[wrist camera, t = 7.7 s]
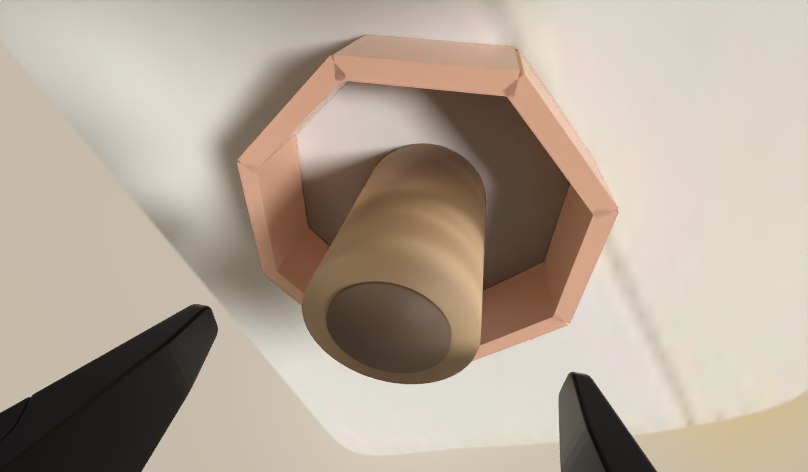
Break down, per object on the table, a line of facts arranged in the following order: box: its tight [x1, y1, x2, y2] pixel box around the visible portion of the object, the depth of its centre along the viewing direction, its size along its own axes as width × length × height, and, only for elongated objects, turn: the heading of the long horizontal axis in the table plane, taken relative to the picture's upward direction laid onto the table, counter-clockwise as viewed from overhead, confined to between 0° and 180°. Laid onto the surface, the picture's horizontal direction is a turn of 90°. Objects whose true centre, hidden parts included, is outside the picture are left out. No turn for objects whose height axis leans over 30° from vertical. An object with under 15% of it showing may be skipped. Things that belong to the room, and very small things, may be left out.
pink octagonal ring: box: [237, 35, 618, 361], centre depth 14 cm, size 11×11×3 cm
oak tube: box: [302, 144, 486, 384], centre depth 12 cm, size 5×5×7 cm
